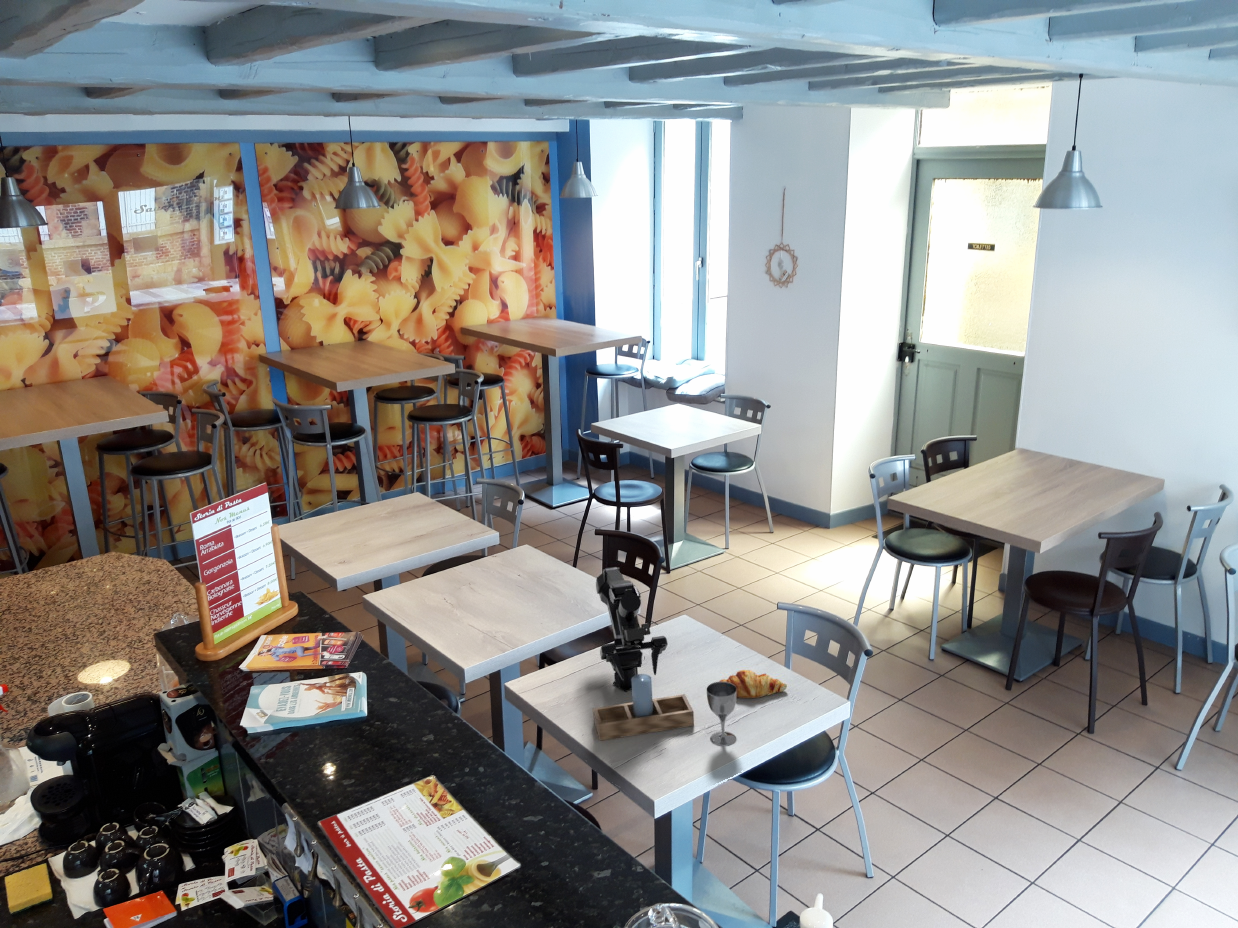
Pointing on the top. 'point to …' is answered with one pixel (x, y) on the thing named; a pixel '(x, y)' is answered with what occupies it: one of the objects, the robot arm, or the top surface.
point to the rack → (643, 718)
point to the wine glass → (722, 709)
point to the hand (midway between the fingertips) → (639, 677)
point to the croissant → (754, 684)
